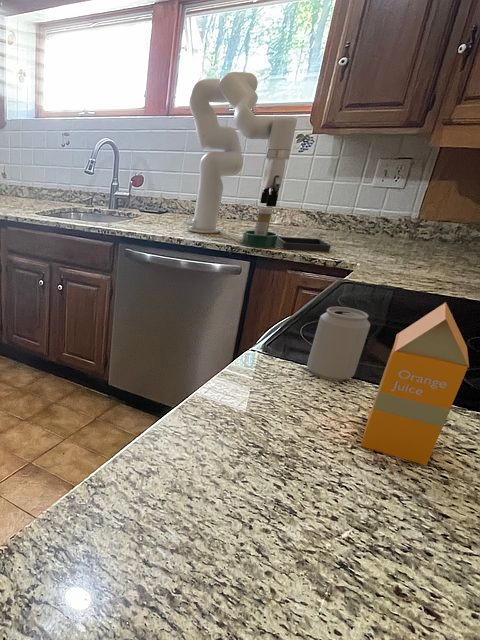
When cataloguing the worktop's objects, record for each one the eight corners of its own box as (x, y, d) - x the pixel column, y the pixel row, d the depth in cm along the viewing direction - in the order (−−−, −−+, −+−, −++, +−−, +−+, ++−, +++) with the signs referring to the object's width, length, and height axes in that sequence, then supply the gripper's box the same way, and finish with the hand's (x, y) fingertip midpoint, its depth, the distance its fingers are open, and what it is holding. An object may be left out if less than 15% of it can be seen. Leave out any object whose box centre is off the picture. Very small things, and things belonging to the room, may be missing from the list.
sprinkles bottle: (266, 244, 198) (275, 208, 193) (262, 246, 196) (270, 209, 190) (254, 242, 201) (262, 206, 196) (249, 244, 199) (257, 207, 193)
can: (336, 365, 99) (354, 304, 94) (362, 382, 92) (384, 318, 87) (297, 365, 99) (313, 304, 94) (320, 383, 92) (340, 318, 87)
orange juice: (359, 445, 74) (406, 311, 65) (366, 420, 80) (409, 295, 72) (428, 466, 69) (488, 325, 61) (429, 438, 76) (484, 306, 67)
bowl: (244, 247, 195) (247, 235, 193) (239, 241, 205) (241, 229, 203) (278, 249, 192) (281, 236, 190) (271, 243, 203) (273, 231, 201)
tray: (283, 249, 192) (284, 242, 191) (275, 243, 203) (276, 236, 202) (328, 252, 189) (330, 245, 188) (318, 245, 199) (320, 238, 198)
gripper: (261, 153, 194) (252, 201, 201) (272, 155, 178) (261, 207, 185) (283, 154, 192) (273, 202, 199) (296, 155, 177) (284, 208, 184)
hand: (267, 204), depth 192 cm, fingers open, 9 cm apart
